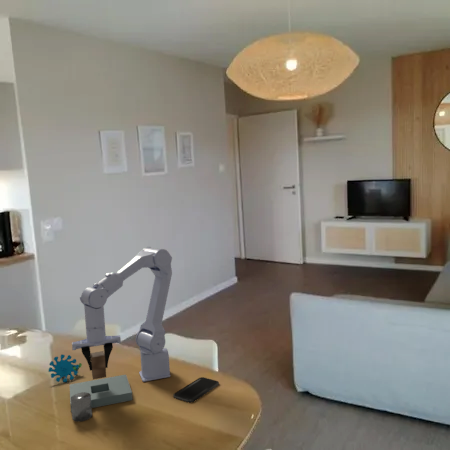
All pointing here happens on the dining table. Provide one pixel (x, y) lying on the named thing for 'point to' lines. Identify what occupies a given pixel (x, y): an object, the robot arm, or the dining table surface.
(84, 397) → the gunmetal plug
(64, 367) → the teal spiky virus toy
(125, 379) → the socket plate
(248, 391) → the dining table surface
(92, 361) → the walnut peg
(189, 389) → the phone
